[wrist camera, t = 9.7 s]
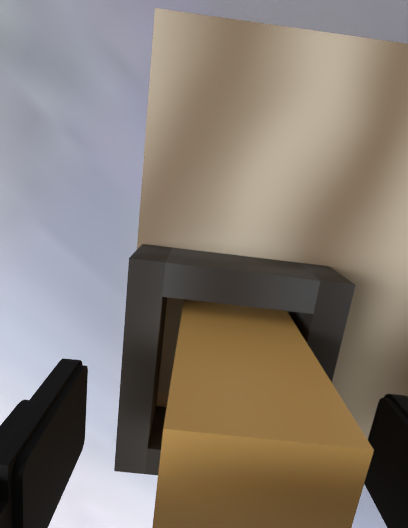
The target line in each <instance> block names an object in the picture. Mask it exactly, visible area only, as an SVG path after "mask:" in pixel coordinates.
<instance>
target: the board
mask: <svg viewBox="0 0 408 528" xmlns="http://www.w3.org/2000/svg"><path fill="white" fill-rule="evenodd" d="M184 299H187V300H195V301H204V302H213V303H222V304H230V305H239V306H248V307H256V308H265V309H274V310H283V311H287V312H288V314H289V315H290V317H291V318H292V320H293V322H294V323H295V325H296V326H297V328H298V330H299V331H300V333H301V334H302V336H303V338H304V339H305V341H306V342H307V344H308V346H309V347H310V349H311V350H312V352H313V354H314V355H315V357H316V358H317V360H318V362H319V363H320V365H321V366H322V368H323V370H324V371H325V373H326V374H327V376H328V378H329V379H330V381H331V382H332V384H333V386H334V387H335V389H336V390H337V392H338V394H339V395H340V397H341V398H342V400H343V402H344V403H345V405H346V406H347V408H348V410H349V411H350V413H351V414H352V416H353V418H354V419H355V421H356V422H357V424H358V425H359V427H360V429H361V430H362V432H363V433H364V435H365V437H366V438H367V440H368V437H369V433H370V430H371V426H372V423H373V419H374V416H375V412H376V409H377V405H378V402H379V400H380V399H381V398H384V396H385V395H386V394H397V395H405V396H408V44H405V43H398V42H391V41H384V40H377V39H370V38H363V37H356V36H349V35H342V34H334V33H327V32H320V31H313V30H306V29H299V28H292V27H285V26H278V25H271V24H264V23H257V22H250V21H243V20H235V19H228V18H221V17H214V16H207V15H200V14H193V13H186V12H179V11H172V10H165V9H158V8H155V17H154V30H153V44H152V57H151V70H150V84H149V97H148V110H147V124H146V137H145V150H144V163H143V177H142V190H141V203H140V217H139V230H138V243H137V250H136V251H135V253H134V254H133V255H132V256H131V257H130V258H129V269H128V283H127V298H126V312H125V326H124V341H123V355H122V369H121V384H120V398H119V412H118V427H117V441H116V455H115V470H114V471H120V472H130V473H140V474H150V475H158V473H159V464H160V454H161V445H162V436H163V427H164V421H165V415H166V409H167V402H168V396H169V390H170V384H171V377H172V371H173V365H174V359H175V352H176V346H177V340H178V334H179V327H180V321H181V315H182V309H183V302H184Z"/></svg>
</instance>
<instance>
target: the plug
mask: <svg viewBox="0 0 408 528" xmlns="http://www.w3.org/2000/svg"><path fill="white" fill-rule="evenodd" d="M373 452H374V449H373V448H372V446H371V445H370V443H369V441H368V440H367V438H366V437H365V435H364V433H363V432H362V430H361V429H360V427H359V425H358V424H357V422H356V421H355V419H354V418H353V416H352V414H351V413H350V411H349V410H348V408H347V406H346V405H345V403H344V402H343V400H342V398H341V397H340V395H339V394H338V392H337V390H336V389H335V387H334V386H333V384H332V382H331V381H330V379H329V378H328V376H327V374H326V373H325V371H324V370H323V368H322V366H321V365H320V363H319V362H318V360H317V358H316V357H315V355H314V354H313V352H312V350H311V349H310V347H309V346H308V344H307V342H306V341H305V339H304V338H303V336H302V334H301V333H300V331H299V330H298V328H297V326H296V325H295V323H294V322H293V320H292V318H291V317H290V315H289V314H288V312H287V311H283V310H274V309H265V308H256V307H248V306H239V305H230V304H222V303H213V302H204V301H195V300H187V299H184V302H183V309H182V315H181V321H180V327H179V334H178V340H177V346H176V352H175V359H174V365H173V371H172V377H171V384H170V390H169V396H168V402H167V409H166V415H165V421H164V427H163V436H162V445H161V454H160V464H159V473H158V482H157V491H156V501H155V510H154V519H153V528H351V527H352V523H353V520H354V516H355V513H356V509H357V506H358V503H359V499H360V496H361V492H362V489H363V486H364V482H365V479H366V475H367V472H368V469H369V465H370V462H371V458H372V455H373Z"/></svg>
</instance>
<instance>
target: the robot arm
mask: <svg viewBox="0 0 408 528" xmlns="http://www.w3.org/2000/svg"><path fill="white" fill-rule="evenodd" d="M87 374H88V368H87V366H83V365H82V361H81V360H72V359H62V360H61V361H60V362H59V363H58V364H57V366H56V367H55V368H54V369H53V371H52V372H51V373H50V375H49V376H48V377H47V378H46V380H45V381H44V382H43V384H42V385H41V386H40V387H39V389H38V390H37V391H36V392H35V394H34V395H33V396H32V398H31V399H30V400H23V401H21V402H20V403H19V404H18V405H17V406H16V407H15V408H14V410H13V411H12V412H11V413H10V415H9V416H8V417H7V418H6V419H5V421H4V422H3V423H2V424H1V426H0V528H48V526H49V523H50V521H51V519H52V517H53V514H54V512H55V510H56V508H57V505H58V503H59V501H60V499H61V496H62V494H63V492H64V490H65V487H66V485H67V483H68V481H69V478H70V476H71V474H72V472H73V469H74V467H75V465H76V463H77V460H78V458H79V456H80V454H81V451H82V449H83V445H84V440H85V421H86V397H87ZM368 441H369V443H370V445H371V446H372V448H373V449H374V452H373V455H372V458H371V462H370V465H369V469H368V472H367V475H366V479H365V482H364V484H365V486H366V488H367V490H368V491H369V493H370V495H371V497H372V499H373V501H374V503H375V505H376V507H377V509H378V510H379V512H380V514H381V516H382V518H383V520H384V522H385V524H386V526H387V528H408V396H405V395H397V394H386V395H385V396H384V398H381V399H380V400H379V402H378V405H377V409H376V412H375V416H374V419H373V423H372V426H371V430H370V433H369V437H368Z"/></svg>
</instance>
